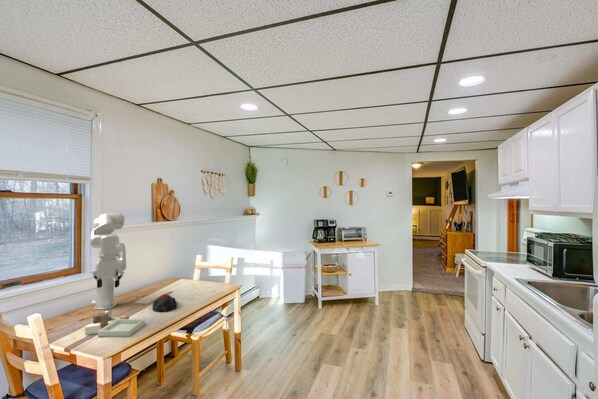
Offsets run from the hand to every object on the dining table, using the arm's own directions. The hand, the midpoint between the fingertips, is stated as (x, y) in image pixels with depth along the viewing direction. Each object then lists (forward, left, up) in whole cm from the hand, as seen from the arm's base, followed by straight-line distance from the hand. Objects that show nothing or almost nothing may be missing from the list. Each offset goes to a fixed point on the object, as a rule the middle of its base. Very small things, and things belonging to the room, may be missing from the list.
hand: (108, 287), depth 170 cm
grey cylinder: (-4, +6, -21) cm, 22 cm away
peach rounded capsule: (+8, +3, -21) cm, 22 cm away
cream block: (0, -12, -21) cm, 24 cm away
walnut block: (-2, -3, -21) cm, 21 cm away
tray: (+14, -9, -21) cm, 26 cm away
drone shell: (+20, +28, -21) cm, 40 cm away
